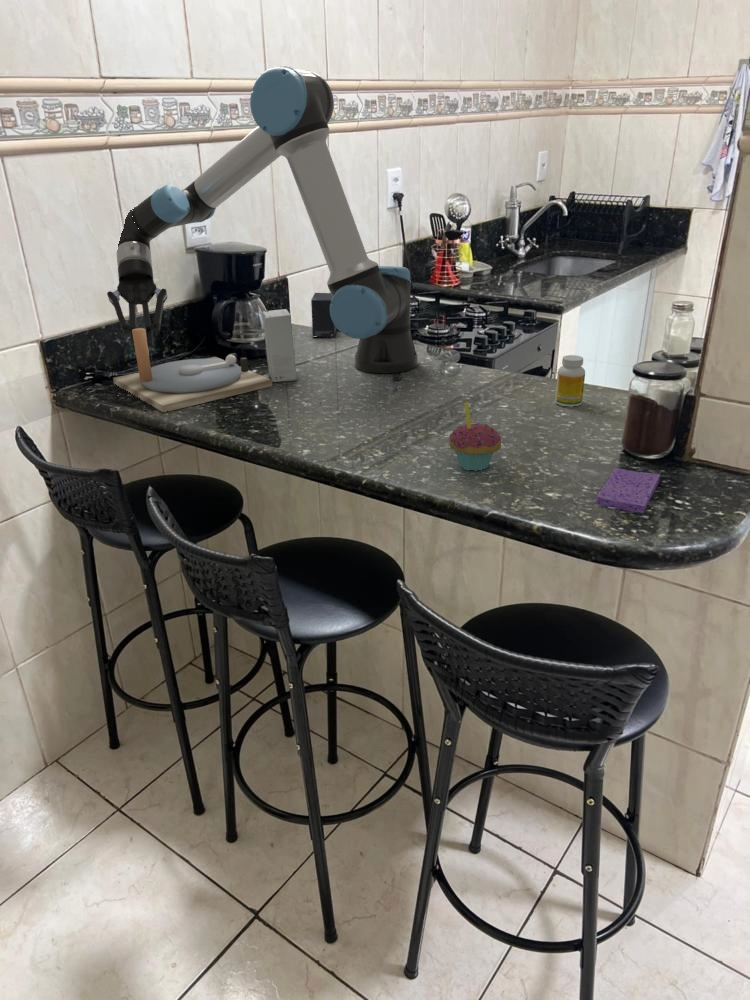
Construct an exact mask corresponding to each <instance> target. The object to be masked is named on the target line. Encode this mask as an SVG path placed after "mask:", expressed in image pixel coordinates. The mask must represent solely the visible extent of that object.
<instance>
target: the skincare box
mask: <svg viewBox="0 0 750 1000" xmlns="http://www.w3.org/2000/svg"><path fill="white" fill-rule="evenodd" d="M262 319H263V321H262V322H263V331H264V341H265V349H266V351H265V352H266V360H267V368H268V375H269V377H270V379H271V380H272V383H277V382H293V381H295V382H296V381H297V380H298V378H297V377H298V375H297V367H296V357H295V346H294V338H293V336H294V335H293V327H292V315H291V313H290V312H289V311H288V309H286V308H285V309H274V310H264V311H262Z"/></svg>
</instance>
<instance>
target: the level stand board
mask: <svg viewBox="0 0 750 1000" xmlns="http://www.w3.org/2000/svg"><path fill="white" fill-rule="evenodd" d="M229 355H234V356H235V357H236V363H235V364H237V365H238V366H239V364H238V363H239V362H240V366H239V367H240V372H241V376H240V377H239V379H237V380H236V381H234V382H233V383H230V384H228V385H225V386H222V387H219V388H215V389H210V390H204V391H197V392H185V393H169V392H159V391H153V390H150V389H147V388H145V387H143V386H142V385H141V381H140V376H139V372H134V373H130V374H125V375H121V376H115V377H113V378H112V379H113V385H115V384H116V385H117V387H118V386H119V387H118V388H120V389H122V390H123V389H124V390H123V391H125V390H126V391H125V392H127V391H128V392H127V393H129V392H130V393H131V394H130V393H129V394H130V395H132V394H133V396H134V395H135V396H134V397H136V398H137V397H138V398H137V399H139V398H140V400H141V401H143V402H144V401H145V402H144V403H146V402H147V404H148V405H149V406H151V405H152V406H151V407H153V408H155V409H156V410H158V411H160V412H162V413H163V412H164V413H167V411H168V412H172V411H174V410H175V411H176V410H179V409H183V408H187V407H192V406H196V405H199V404H200V405H201V404H204V403H209V402H213V401H217V400H220V399H221V400H222V399H225V398H229V397H232V396H238V395H242V394H245V393H250V392H253V391H257V390H262V389H266V388H270V387H273V382H272V379H271V378H268V377H266V376H264V375H261V374H259V373H256V372H254V371H251V370H249V362H248V358H247V357H240V358H239V360H240V361H239V362H238V354H237V353H235V352H233V353H231V352H230V353H229ZM205 359H218V360H223V359H222V358H219V357H217V356H212V357H207V358H205ZM116 385H115V386H116Z"/></svg>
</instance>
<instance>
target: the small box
mask: <svg viewBox="0 0 750 1000" xmlns="http://www.w3.org/2000/svg"><path fill="white" fill-rule="evenodd" d="M331 300H332V296H331V293H330V292H315V293H313V296H312V297H311V300H310V301H311V302H310V305H311V324H312V325H311V327H312V332H311V333H312V337H313V336H317V337H334V338H335V337H336V333H337V330H338V329H337V327H336V326H335V325H334V323H333V321H332V319H331V315H330V304H331Z"/></svg>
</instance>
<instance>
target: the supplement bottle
mask: <svg viewBox="0 0 750 1000" xmlns="http://www.w3.org/2000/svg"><path fill="white" fill-rule="evenodd" d="M583 365H584V357H583V356H581V355H575V354H569V355H564V356H562V361H561V366H560V367H559V368H558V369H557V375H556V376H557V377H556V378H557V379H556V384H555V395H554V403H555V402H556V403H557V404H559V405H563V406H570V407H569V408H574V407H573V406H578V407H580V406H581V405H582V404H583V395H584V388H585V387H584V385H585V377H586V370H585V369H584V367H583ZM556 403H555V404H556ZM557 404H556V405H557ZM559 405H558V406H559ZM579 405H580V406H579Z"/></svg>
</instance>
